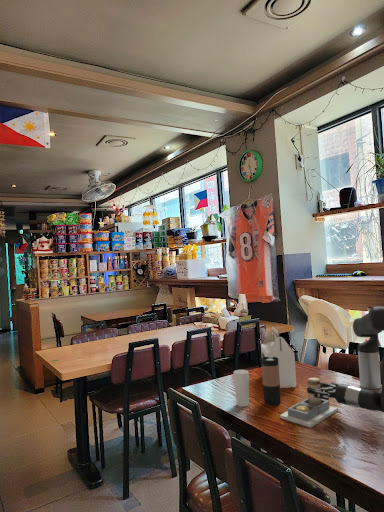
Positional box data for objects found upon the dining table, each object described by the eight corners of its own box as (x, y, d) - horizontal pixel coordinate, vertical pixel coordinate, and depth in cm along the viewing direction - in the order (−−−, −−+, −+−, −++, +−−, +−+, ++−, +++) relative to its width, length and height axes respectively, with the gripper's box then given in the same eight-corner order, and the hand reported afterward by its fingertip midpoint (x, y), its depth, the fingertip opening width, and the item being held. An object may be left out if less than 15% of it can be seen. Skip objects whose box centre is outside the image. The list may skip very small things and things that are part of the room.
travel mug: (271, 407, 169) (268, 361, 169) (260, 402, 176) (257, 358, 176) (284, 403, 173) (282, 358, 173) (273, 398, 179) (271, 355, 180)
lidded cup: (309, 405, 166) (308, 377, 166) (322, 406, 164) (320, 378, 164) (308, 409, 161) (306, 381, 161) (320, 411, 159) (319, 382, 159)
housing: (307, 403, 172) (307, 393, 172) (337, 410, 161) (337, 401, 161) (280, 417, 158) (279, 408, 158) (310, 427, 147) (310, 417, 147)
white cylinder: (234, 403, 177) (232, 370, 177) (248, 401, 178) (246, 369, 178) (237, 408, 170) (234, 374, 170) (252, 407, 171) (250, 373, 171)
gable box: (262, 375, 215) (259, 325, 216) (286, 374, 215) (283, 324, 215) (270, 389, 193) (266, 332, 193) (296, 387, 193) (293, 331, 193)
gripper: (358, 381, 156) (321, 374, 168) (341, 390, 146) (303, 382, 158) (359, 400, 155) (322, 391, 168) (342, 410, 146) (304, 400, 158)
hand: (313, 387), depth 163 cm, fingers open, 8 cm apart
